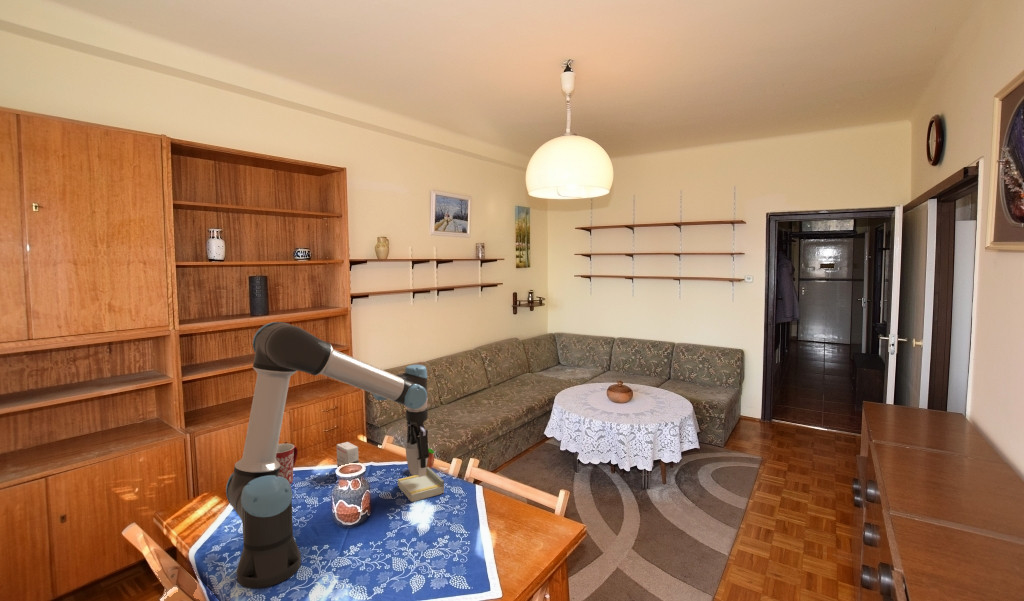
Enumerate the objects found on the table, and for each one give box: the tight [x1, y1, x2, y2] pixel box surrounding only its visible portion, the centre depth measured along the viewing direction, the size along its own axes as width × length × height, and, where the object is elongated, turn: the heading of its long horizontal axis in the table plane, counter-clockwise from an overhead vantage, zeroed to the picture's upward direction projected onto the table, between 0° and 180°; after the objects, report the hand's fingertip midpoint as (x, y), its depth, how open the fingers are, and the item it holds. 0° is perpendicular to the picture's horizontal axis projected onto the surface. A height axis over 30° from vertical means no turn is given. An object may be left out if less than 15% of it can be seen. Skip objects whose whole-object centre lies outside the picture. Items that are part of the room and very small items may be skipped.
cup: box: [405, 443, 430, 476], centre depth 173 cm, size 8×8×10 cm
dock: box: [397, 467, 445, 503], centre depth 174 cm, size 14×12×4 cm
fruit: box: [426, 448, 435, 470], centre depth 190 cm, size 9×10×10 cm
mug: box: [276, 443, 299, 485], centre depth 180 cm, size 13×9×14 cm
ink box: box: [336, 441, 360, 467], centre depth 185 cm, size 9×5×12 cm, turn 47°
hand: (417, 471), depth 173 cm, fingers closed on cup, 8 cm apart
